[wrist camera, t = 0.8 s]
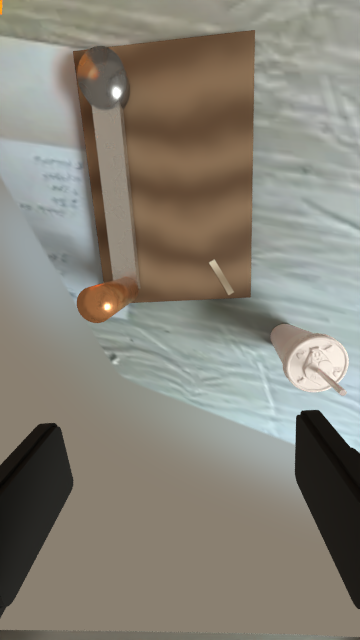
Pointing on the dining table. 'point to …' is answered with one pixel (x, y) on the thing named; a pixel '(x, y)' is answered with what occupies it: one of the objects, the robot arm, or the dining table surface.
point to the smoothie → (310, 358)
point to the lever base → (185, 165)
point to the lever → (111, 181)
